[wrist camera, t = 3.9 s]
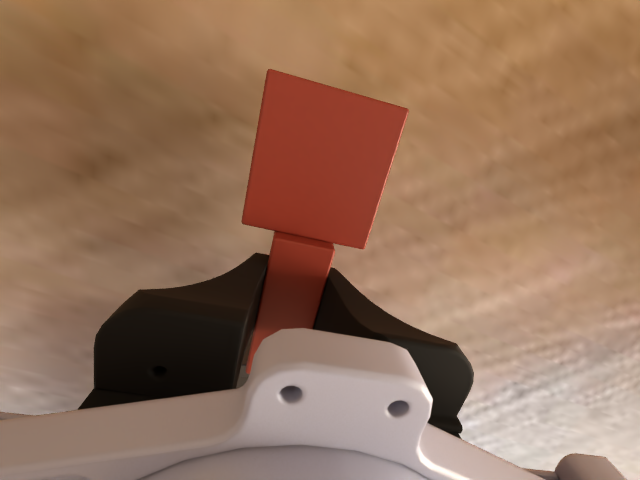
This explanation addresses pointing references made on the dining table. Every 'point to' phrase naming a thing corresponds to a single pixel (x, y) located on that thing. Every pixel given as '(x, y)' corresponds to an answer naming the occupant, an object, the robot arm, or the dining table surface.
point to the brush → (313, 189)
